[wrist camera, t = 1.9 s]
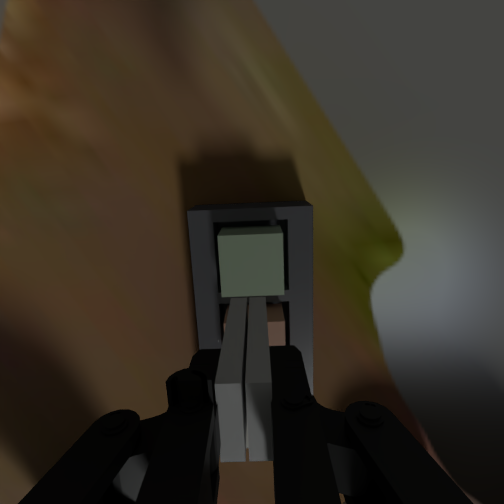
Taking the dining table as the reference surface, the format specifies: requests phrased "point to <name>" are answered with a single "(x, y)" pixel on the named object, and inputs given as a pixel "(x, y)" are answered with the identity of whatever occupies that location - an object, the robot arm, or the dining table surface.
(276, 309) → the terracotta button
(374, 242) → the dining table surface
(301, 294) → the button panel
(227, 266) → the green button
